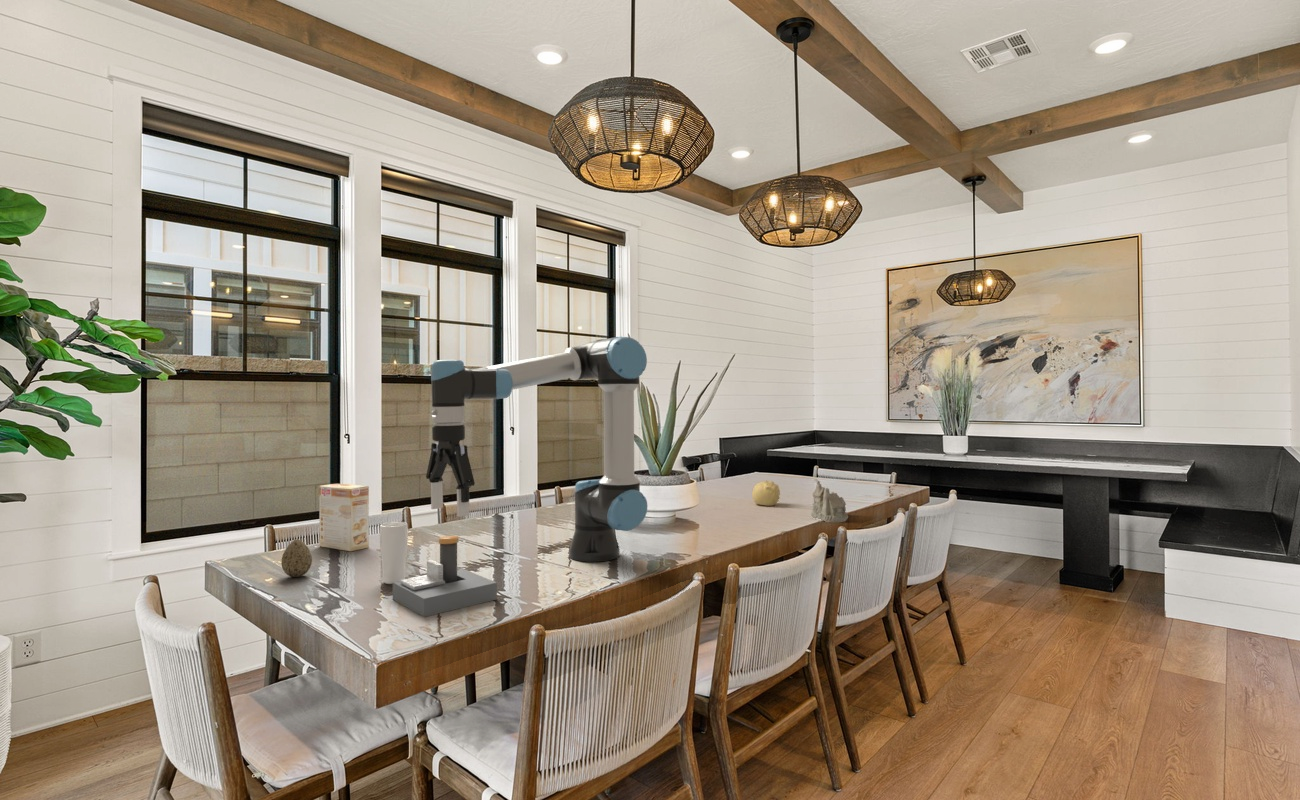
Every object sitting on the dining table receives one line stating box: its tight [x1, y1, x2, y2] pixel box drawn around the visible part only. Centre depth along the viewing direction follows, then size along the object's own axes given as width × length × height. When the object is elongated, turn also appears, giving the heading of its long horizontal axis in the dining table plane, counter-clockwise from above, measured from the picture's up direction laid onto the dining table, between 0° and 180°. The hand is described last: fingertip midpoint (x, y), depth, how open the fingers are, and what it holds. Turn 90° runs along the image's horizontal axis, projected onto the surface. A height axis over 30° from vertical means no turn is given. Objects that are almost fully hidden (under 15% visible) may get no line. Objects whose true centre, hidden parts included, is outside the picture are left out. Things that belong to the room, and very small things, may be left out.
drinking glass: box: [379, 521, 409, 585], centre depth 171 cm, size 7×7×15 cm
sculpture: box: [751, 480, 781, 507], centre depth 290 cm, size 12×12×11 cm
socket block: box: [392, 568, 498, 618], centre depth 157 cm, size 18×17×4 cm
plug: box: [438, 535, 460, 584], centre depth 159 cm, size 5×5×14 cm
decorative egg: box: [281, 538, 313, 578], centre depth 175 cm, size 7×7×10 cm
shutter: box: [400, 559, 445, 590], centre depth 155 cm, size 8×8×4 cm
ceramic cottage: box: [810, 480, 849, 524], centre depth 260 cm, size 16×16×15 cm
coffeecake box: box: [318, 483, 370, 552], centre depth 209 cm, size 15×7×20 cm, turn 63°
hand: (449, 512), depth 159 cm, fingers open, 13 cm apart
